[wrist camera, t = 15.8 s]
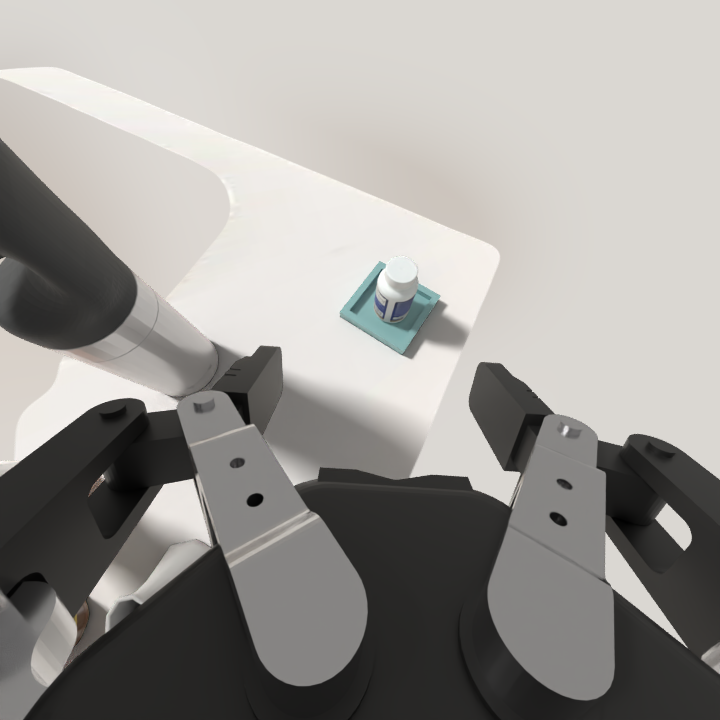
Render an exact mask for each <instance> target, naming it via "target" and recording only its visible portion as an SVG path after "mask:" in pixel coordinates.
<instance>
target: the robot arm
mask: <svg viewBox="0 0 720 720" xmlns="http://www.w3.org/2000/svg"><path fill="white" fill-rule="evenodd" d="M4 257H6V258H5V260H4V261H3V262H2V263H1V264H0V326H1V327H2V328H4V329H5V330H6V331H8V332H9V333H11V334H13V335H15V336H17V337H19V338H21V339H24V340H26V341H29V342H31V343H34V344H37V345H40V346H42V347H44V348H47V349H50V350H52V351H55V352H58V353H60V354H63V355H65V356H68V357H70V358H73V359H76V360H79V361H81V362H84V363H86V364H89V365H91V366H94V367H97V368H99V369H102V370H104V371H107V372H110V373H112V374H115V375H117V376H120V377H123V378H125V379H128V380H130V381H133V382H135V383H138V384H141V385H143V386H146V387H148V388H151V389H153V390H156V391H159V392H161V393H164V394H166V395H170V396H186V395H189V396H187V397H185V398H184V399H182V400H181V401H180V402H179V403H178V405H177V409H176V410H168V411H160V412H151V413H147V411H146V407H145V404H144V402H143V401H141V400H138V399H133V398H124V399H117V400H112V401H108V402H105V403H102V404H100V405H97V406H95V407H93V408H91V409H90V410H88V411H87V412H85V413H84V414H83V415H81V416H80V417H79V418H77V419H76V420H75V421H73V422H72V423H71V424H69V425H68V426H67V427H65V428H64V429H63V430H61V431H60V432H59V433H58V434H56V435H55V436H54V437H52V438H51V439H50V440H48V441H47V442H46V443H44V444H43V445H42V446H40V447H39V448H38V449H36V450H35V451H34V452H32V453H31V454H30V455H28V456H27V457H26V458H24V459H23V460H22V461H20V462H19V463H18V464H16V465H15V466H14V467H12V468H11V469H10V470H8V471H7V472H6V473H5V474H3V475H2V476H1V477H0V720H720V480H719V479H718V478H716V477H715V476H714V475H713V474H711V473H710V472H709V471H708V470H706V469H705V468H704V467H702V466H701V465H700V464H698V463H697V462H696V461H694V460H693V459H692V458H691V457H689V456H688V455H687V454H686V453H684V452H683V451H681V450H680V449H678V448H677V447H675V446H673V445H671V444H669V443H667V442H665V441H662V440H660V439H657V438H654V437H651V436H647V435H642V434H633V435H630V436H629V437H628V439H627V441H626V442H625V444H624V446H619V445H615V444H611V443H607V442H603V441H599V440H598V437H597V435H596V433H595V432H594V431H593V430H592V429H591V428H590V427H588V426H587V425H585V424H584V423H582V422H580V421H577V420H576V419H573V418H570V417H567V416H563V415H556V414H554V413H553V412H552V411H551V410H550V408H548V406H547V405H546V404H545V403H544V402H543V401H542V400H541V399H540V398H538V396H537V395H536V394H535V393H534V392H532V390H531V389H530V388H529V387H528V386H527V385H526V384H525V383H524V382H522V381H520V380H519V379H517V378H515V377H514V376H512V375H511V374H510V373H509V372H508V370H507V369H505V367H504V366H503V365H502V364H500V363H487V362H481V363H479V365H478V367H477V370H476V373H475V377H474V381H473V385H472V388H471V392H470V396H469V407H470V410H471V412H472V414H473V416H474V418H475V420H476V421H477V423H478V425H479V427H480V429H481V430H482V432H483V434H484V436H485V438H486V439H487V441H488V443H489V445H490V447H491V448H492V450H493V452H494V454H495V456H496V457H497V459H498V461H499V463H500V465H501V466H502V468H503V470H504V471H515V472H520V473H521V475H520V477H519V480H518V482H517V485H516V487H515V490H514V493H513V495H512V498H511V501H510V503H509V506H507V505H506V504H504V503H503V502H501V501H499V500H497V499H495V498H493V497H491V496H489V495H487V494H484V493H482V492H479V491H476V490H473V489H472V486H471V484H470V481H469V479H468V477H459V476H442V475H427V476H421V477H415V478H408V479H401V480H392V479H388V478H385V477H381V476H377V475H374V474H370V473H366V472H363V471H359V470H351V469H336V468H321V467H320V470H319V476H318V479H316V480H311V481H307V482H303V483H300V484H298V485H295V486H293V484H292V483H291V481H290V480H289V478H288V476H287V475H286V473H285V472H284V470H283V469H282V467H281V465H280V464H279V462H278V461H277V459H276V458H275V456H274V454H273V453H272V451H271V450H270V448H269V446H268V445H267V443H266V442H265V440H264V439H263V437H262V435H263V433H264V431H265V429H266V426H267V424H268V422H269V420H270V418H271V416H272V414H273V412H274V409H275V407H276V405H277V403H278V401H279V399H280V397H281V393H282V388H283V374H282V353H281V348H280V347H274V346H260V347H259V348H258V349H257V350H256V352H255V353H254V354H253V355H252V356H251V357H248V356H246V357H244V358H242V359H240V360H238V361H236V362H235V363H234V364H233V365H232V366H231V368H230V370H228V371H227V372H226V373H225V375H223V376H222V378H221V379H220V380H219V381H218V382H217V383H216V384H215V385H214V386H213V388H212V389H211V390H210V391H202V392H197V391H199V390H200V389H202V388H203V387H205V386H206V385H207V384H208V383H209V382H210V380H211V379H212V378H213V376H214V374H215V372H216V370H217V366H218V354H217V350H216V348H215V346H214V345H213V344H212V343H211V341H210V340H208V339H207V338H206V337H205V336H204V335H203V334H202V333H201V332H200V331H199V330H198V329H197V328H195V327H194V326H193V325H192V324H191V323H190V322H189V321H188V320H186V319H185V318H184V317H183V316H182V315H181V314H180V313H179V312H178V311H176V310H175V309H174V308H173V307H172V306H171V305H170V304H169V303H168V302H166V301H165V300H164V299H163V298H162V297H161V296H160V295H159V294H158V293H156V292H155V291H154V290H153V289H152V288H151V287H150V286H149V285H147V284H146V283H145V282H144V281H143V280H142V279H141V278H139V277H138V276H137V275H136V274H135V273H134V272H133V271H132V270H131V269H129V268H128V266H126V265H125V264H124V263H123V262H122V261H121V260H120V259H119V258H118V257H117V256H115V254H114V253H113V252H112V251H111V250H110V249H109V248H108V247H107V246H106V245H105V244H104V243H103V242H102V240H101V239H100V238H99V237H98V236H97V235H96V234H95V233H94V232H93V231H92V230H91V229H90V228H89V227H88V226H87V225H86V224H85V223H84V222H83V221H82V220H81V219H80V218H79V217H78V216H77V215H76V214H75V213H74V212H73V211H71V209H70V208H68V207H67V206H66V205H65V204H64V203H63V202H62V201H61V200H60V199H59V198H58V197H57V196H56V195H55V194H54V193H53V192H52V191H51V190H50V189H49V188H48V187H47V186H46V185H45V184H44V183H43V182H42V181H41V180H40V179H39V178H38V177H37V176H36V175H35V174H34V173H33V172H32V171H31V170H30V169H29V168H28V167H27V166H26V165H25V163H24V162H22V161H21V159H20V158H19V157H18V156H17V155H16V154H15V153H14V152H13V151H12V150H11V149H10V148H9V147H8V146H7V145H6V144H5V143H4V142H3V141H2V140H1V139H0V259H1V258H4ZM195 392H197V393H195ZM193 393H194V394H193ZM190 394H191V395H190ZM102 474H103V475H104V478H105V480H104V481H103V482H102V483H101V484H100V486H99V487H98V488H97V489H96V490H95V491H94V492H93V493H92V494H91V495H90V497H89V498H88V495H89V492H90V489H91V487H92V486H93V484H94V483H95V482H96V481H97V480H98V478H99V477H100V476H101V475H102ZM189 479H193V482H194V485H195V488H196V492H197V495H198V499H199V502H200V506H201V509H202V513H203V516H204V520H205V523H206V527H207V530H208V534H209V538H210V542H211V546H212V548H211V549H210V550H208V551H207V552H206V553H205V554H203V555H202V556H201V557H200V558H198V559H197V560H196V561H195V562H193V563H192V564H191V565H190V566H188V567H187V568H186V569H185V570H183V571H182V572H181V573H180V574H178V575H177V576H176V577H175V578H173V579H172V580H171V581H170V582H169V583H167V584H166V585H165V586H164V587H162V588H161V589H160V590H159V591H157V592H156V593H155V594H154V595H152V596H151V597H150V598H149V599H147V600H146V601H145V602H144V603H142V604H141V605H140V606H139V607H137V608H136V609H135V610H134V611H132V612H131V613H130V614H129V615H128V616H126V617H125V618H124V619H123V620H121V621H120V622H119V623H118V624H116V625H115V626H114V627H113V628H111V629H110V630H109V631H108V632H106V633H105V634H104V635H103V636H101V637H100V638H99V639H98V640H96V641H95V642H94V643H93V644H92V645H90V646H89V647H88V648H87V649H86V650H85V651H83V652H82V653H81V654H80V655H79V656H78V657H76V658H75V659H74V660H73V661H72V662H71V663H70V664H69V665H68V666H67V667H66V668H65V669H64V670H63V668H64V666H65V664H66V662H67V660H68V658H69V656H70V654H71V652H72V650H73V647H74V644H75V642H76V637H77V626H76V622H75V621H74V619H73V618H74V617H75V615H76V614H77V612H78V611H79V609H80V608H81V606H82V605H83V603H84V602H85V600H86V599H87V597H88V596H89V594H90V593H91V592H92V590H93V589H94V587H95V586H96V584H97V583H98V581H99V580H100V578H101V577H102V575H103V574H104V572H105V571H106V569H107V568H108V566H109V565H110V563H111V562H112V560H113V559H114V557H115V556H116V555H117V553H118V552H119V550H120V549H121V547H122V546H123V544H124V543H125V541H126V540H127V538H128V537H129V535H130V534H131V532H132V531H133V529H134V528H135V526H136V525H137V523H138V522H139V520H140V519H141V517H142V516H143V515H144V513H145V512H146V510H147V509H148V507H149V506H150V504H151V503H152V501H153V500H154V498H155V497H156V495H157V494H158V492H159V491H160V489H161V488H162V486H163V485H164V484H167V483H173V482H178V481H183V480H189ZM666 503H668V505H669V506H670V507H671V508H672V509H673V510H674V511H675V512H676V513H677V514H678V515H679V516H680V517H681V518H682V519H683V520H684V521H685V522H686V523H687V525H688V526H689V528H690V531H691V534H692V541H691V544H690V545H689V546H688V547H687V549H686V550H685V551H684V550H683V549H682V548H681V547H680V546H679V545H678V544H677V543H676V542H675V540H674V539H673V538H672V537H671V536H670V535H669V534H668V533H667V532H666V530H664V528H663V527H662V526H661V525H660V524H659V523H658V522H657V521H656V519H655V518H656V516H657V515H658V514H659V512H660V511H661V510H662V508H663V507H664V506H665V504H666ZM605 532H606V533H607V535H608V536H609V537H610V539H611V540H612V542H613V543H614V545H615V546H616V547H617V549H618V550H619V552H620V553H621V554H622V556H623V557H624V558H625V560H626V561H627V563H628V564H629V566H630V567H631V568H632V570H633V571H634V572H635V574H636V575H637V577H638V578H639V580H640V581H641V582H642V584H643V585H644V586H645V588H646V590H647V591H648V592H649V593H650V595H651V597H652V598H653V599H654V601H655V602H656V604H657V605H658V606H659V608H660V609H661V611H662V612H663V613H664V615H665V616H666V618H667V619H668V621H669V622H670V623H671V625H672V626H673V627H674V629H675V630H676V632H677V633H678V635H679V636H680V637H681V639H682V640H683V642H684V643H685V644H686V646H687V647H688V648H686V647H685V646H684V645H683V644H681V643H680V642H679V641H678V640H676V639H675V638H674V637H672V636H671V635H670V634H669V633H668V632H666V631H665V630H664V629H662V628H661V627H660V626H659V625H658V624H656V623H655V622H654V621H653V620H651V619H650V618H649V617H648V616H646V615H645V614H644V613H642V612H641V611H640V610H639V609H638V608H636V607H635V606H634V605H632V604H631V603H630V602H628V601H627V600H626V599H625V598H623V597H622V596H621V595H620V594H618V593H617V592H616V591H615V590H613V589H612V587H611V585H610V584H609V583H608V582H607V581H606V579H605Z"/></svg>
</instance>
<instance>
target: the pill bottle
mask: <svg viewBox="0 0 720 720" xmlns="http://www.w3.org/2000/svg"><path fill="white" fill-rule="evenodd" d="M417 274H418V268H417V265H416V263H415V262H414V261H413V260H412V259H410V258H408V257H405V256H396V257H393V258H392V259H390V260H389V261H388V263H387V264H386V268H385V269H384V270H382V272H381V273H380V275H379V277H378V281H377V287H376V293H375V300H374V311H375V314H376V315H377V317H378V318H379V319H381V320H382V321H384V322H387V323H397V322H400V321H402V320H403V319H404V318H405V317H406V316H407V314H408V312H409V309H410V307H411V304H412V302H413V299H414V297H415V294H416V292H417V289H418V278H417Z"/></svg>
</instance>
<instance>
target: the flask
mask: <svg viewBox="0 0 720 720" xmlns="http://www.w3.org/2000/svg"><path fill="white" fill-rule="evenodd" d="M210 549H211V547H209V546H207V545H206V544H204V543H202V542H200V541H199V540H197V539H196V540H191V541H187V542H182V543H177V544H173V545H171V546H170V547H169V548H168V550H167V551H166V553H165V555H164V556H163V558H162V559H161V561H160V562H159V564H158V565H157V567H156V568H155V570H154V571H153V572H152V574H151V575H150V577H149V578H148V579H147V581H146V582H145V583H144V584H143V585H142V586H141V587H140V588H139V589H138V590H137V591H136V592H134V593H133V594H131V595H127V596H123V597H119V598H117V600H116V601H115V603H114V604H113V606H112V607H111V609H110V611H109V612H108V614H107V615H106V625H105V633H106V632H108V631H109V630H110V629H111V628H113V627H114V626H115V625H116V624H118V623H119V622H120V621H121V620H123V619H124V618H125V617H126V616H128V615H129V614H130V613H131V612H132V611H134V610H135V609H136V608H137V607H139V606H140V605H141V604H142V603H144V602H145V601H146V600H147V599H149V598H150V597H151V596H152V595H154V594H155V593H156V592H157V591H159V590H160V589H161V588H162V587H164V586H165V585H166V584H167V583H169V582H170V581H171V580H172V579H173V578H175V577H176V576H177V575H178V574H180V573H181V572H182V571H183V570H185V569H186V568H187V567H188V566H190V565H191V564H192V563H193V562H195V561H196V560H197V559H198V558H200V557H201V556H202V555H203V554H205V553H206V552H207V551H208V550H210Z"/></svg>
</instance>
